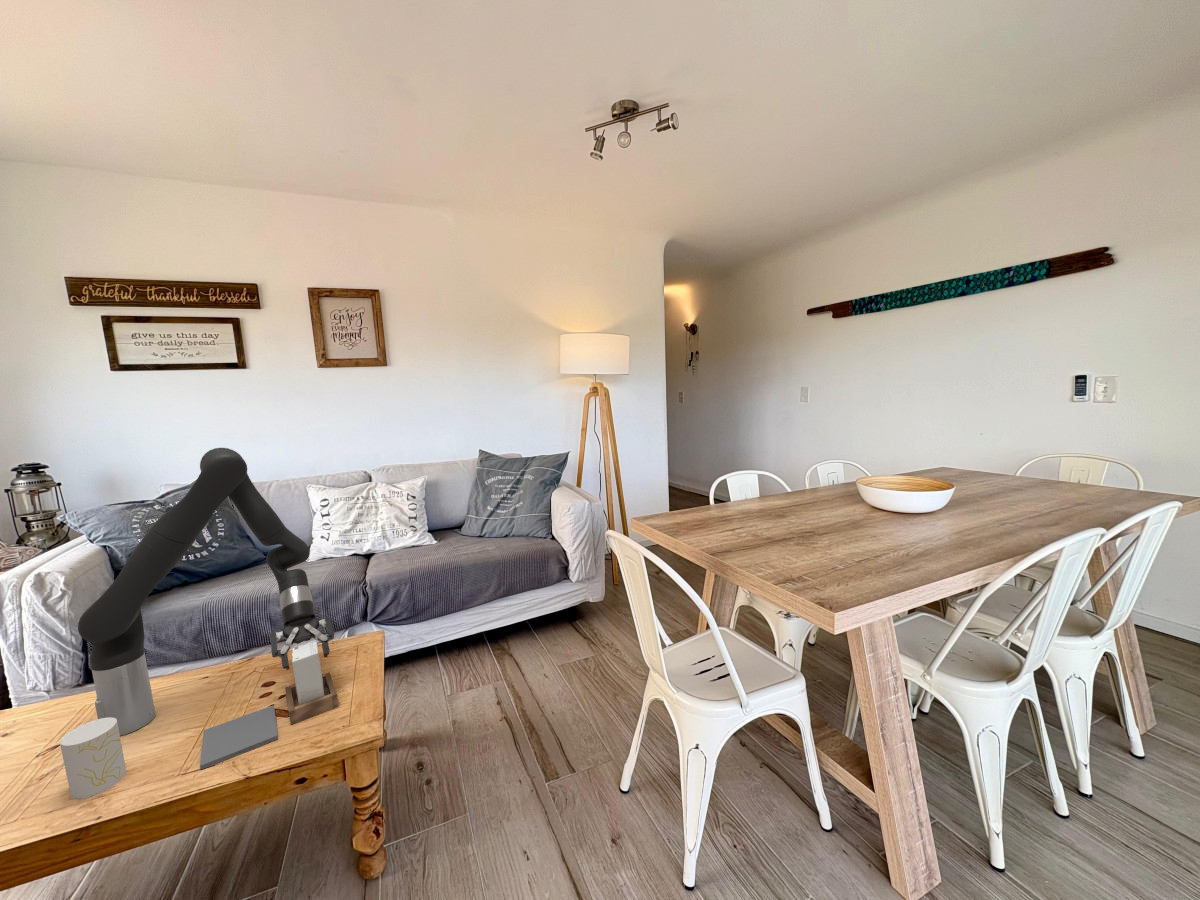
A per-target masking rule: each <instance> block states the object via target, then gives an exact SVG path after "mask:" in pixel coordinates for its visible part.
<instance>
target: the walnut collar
mask: <svg viewBox="0 0 1200 900" xmlns="http://www.w3.org/2000/svg"><path fill="white" fill-rule="evenodd" d="M322 678H323V685H324V689H326V690H327V692H328V694H327V695H324V696H323V697H321V698H318V699H315V700H312V701H310V702H307V703H304V704H302V705H299V704H298V705H296V706H295V703H294V700H296V699H298V697H297V691H296V684H295V683H294V684H291V685H288V686H285V687H284V691H285V698H286V703H287V709H288V715H289V716H288V717H289V722H290V726H292V725H294V724H296V723H299V722H302V721H305V720H307V719H309V718H312V717H315V716H317V715H320V714H323V713H325V712H328V711H330V710H333V709H336V708H338V707H339V700H338V693H337V691H336V686H335V684H334V680H333V677H332V675H331V673H330V672H326V673H323V674H322Z"/></svg>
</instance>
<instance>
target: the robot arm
mask: <svg viewBox="0 0 1200 900" xmlns="http://www.w3.org/2000/svg"><path fill="white" fill-rule="evenodd" d="M199 469H200V474H199V475H198V476H197V478H196V480H195V482H194V483H193V484H192V486H191V487H190V489H189V490H188V491H187V493H186V494H185V495H184V496H183V497H182V498H181V500H179V501H178V502H177V503H176V504H174V505H173V506H172V507H171V508H170V509H168V510H167V511H166V512H164V513H163V514H162V515H161V516H160V517H159V518H158V519H157V520H156V521H155V522H154V523H153V525H152V526H151V527H150V528H149V530H148V531H147V532H146V533H145V534H144V536H143V537H142V539H141V540H140V542H139V543H138V544H137V546H136V547H135V549H134V550H133V552H132V553H131V555H130V556H128V559H127V561H126V562H125V564H124V566H123V567H122V569H121V570H120V572H119V574H118V575H117V577H116V578H115V580H114V581H112V584H111V585H109V587H108V588H107V589H106V590H105V591H104V592H103V593H102V595H101V596H100V597H99V598H98V599H96V600H95V601H94V602H93V603H92V604H91V605H90V606H89V607H88V608H87V609H86V610H84V612H83V613H82V615H81V616H80V618H79V620H78V625H77V631H78V633H79V636H80V637H81V639H83V640H84V641H86V642H88V643H92V646H91V653H90V657H89V664H90V667H91V668H90V669H91V673H92V679H93V684H94V688H95V694H96V699H95V702H94V706H95V711H96V712H95V713H96V717H97V719H101V718H108V717H113V718H116V719H117V724H118V729H119V734H120V737H121V736H125V735H127V734H131V733H133V732H135V731H137V730H139V729H142V728H143V727H144V726H146V725H148V724H149V723H150V722H153V720H154V718H155V717H156V709H155V708H156V707H155V704H154V697H153V693H152V687H151V686H152V685H151V682H150V681H151V680H150V675H149V669H148V663H147V658H146V653H145V628H144V620H143V614H142V608H141V607H142V606H143V604H144V603H145V601H146V599H147V598H148V597H149V595H150V593H151V592H152V591H153V590H154V589H155V588H156V586H157V585H159V584H160V583H161V582H162V580H164V578H165V577H166V576H167V575H168V574H169V573H170V572H171V571H172V570H173V569H174V567H176V566H177V564H178V563H179V562H180V561H181V560H182V558H183V557H184V556H185V555H186V554H187V552H188V550H189V549H190V548H191V547H192V546H193V544H194V543H195V541H196V540H197V539H198V537H199V536H200V534H201V533H202V531H203V530H204V529H205V527H206V526H207V524H208V523H209V522H210V520H211V519H212V517H213V515H214V514H215V512H216V511H217V509H218V508H219V507H220V506H221V504H222V503H224V501H225V500H226V499H228V498H229V499H230V500H231V502H232V503H233V504H234V506H235V507H236V509H237V511H238V512H239V514H240V516H241V518H242V519H243V521H244V522H245V523H246V525H247V526H248V528H249V529H250V531H251V532H252V533H253V535H254V536H255V538H256V539H257V540H258V541H259V543H260V544H261V545H263V546H266V547H270V546H277V545H278V546H277V547H274V548H272V549H270V550H269V551H268V552H267V554H266V559H265V560H266V564H267V565H268V567H269V569H270V571H272V573H273V575H274V578H275V580H276V583H277V586H278V592H279V606H280V612H281V618H282V623H283V630H282V631H278V632H276V631H272V632H271V633H270V634H269V635H270V646H271V647H270V649H271V657H272V658H280V660H281V665H282V669H283V670H284V669H285V671H288V670H289V671H290V664H289V663H290V661H289V657H288V652H289V651H290V650H292V647H293V645H294V644H296V645H298V644H301V643H303V642H308V641H311V639H314V641H318V642H320V643H321V648H322V653H323V657H324V658H328V655H330V646H329V642H330V641H332V640H333V639H335V631H334V627H333V622H332V621H331V620H332V619H331V617H330V616H325V617H324V618H323V619H320V620H318V619H317V616H316V612H315V605H314V601H313V595H312V592H311V590H310V586H309V581H308V576H307V573H306V571H305V570H303V569H300V568H295V569H291V568H292V567H295V566H298V565H300V564H302V563H304V562H306V561H308V560H309V558H310V555H311V553H310V552H311V551H310V550H311V549H310V547H309V546H308V544H307V543H306V542H305V541H304V540H303V539H301V538H300V537H299V536H298V535H296V534H294V533H293V532H292V531H290V529H289V528H288V527H286V526H285V524H284V522H283V521H282V520H281V518H280V517H279V516H278V514H277V513H276V512H275V510H274V509H273V508H272V506H271V505H270V504H269V503H268V502H267V501H266V499H265V498H264V497H263V496H262V494H261V493H260V492H259V491H258V489H257V488H256V486H255V485H254V483H253V482H252V480H251V478H250V476H249V474H248V464H247V462H246V460H245V459H244V458H243V457H242V455H241V454H240V453H239V452H237V451H235V450H234V449H232V448H227V447H216V448H213V449H209V450H208V451H206V452H205V453H204V454H203V456H201V460H200V461H199ZM289 569H290V570H289ZM320 626H322V627H323V628H326V631H327V635H325V634H323V633H322V632H321V631H320V630H318V629H319V627H320ZM281 637H283V638H284V639H286V641H285V643H284V645H283V646H282V648H281V649H278V642H279V641H280V640H281Z"/></svg>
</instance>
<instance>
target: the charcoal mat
mask: <svg viewBox="0 0 1200 900" xmlns="http://www.w3.org/2000/svg"><path fill="white" fill-rule="evenodd" d="M275 710H276V709H275V704H274V705H273V704H272V705H270V706H268V707H265V708H262V709H259V710H255V711H254V712H250V713H247V714H245V715H242V716H239V717H236V718H233V719H231V720H228V721H226V722H223V723H220V724H216V725H215V726H214V725H213V726H212V727H209V728H206V729H203V733H202V742H201V743H202V744H201V749H200V750H201V752H200V761H199V770H200V771H202V770H205V769H206V768H209V767H212V766H214V765H216V764H219V763H222V762H224V761H228V760H229V759H232V758H234V757H236V756H239V755H242V754H244V753H246V752H249V751H250V752H251V751H252V750H254V749H257V748H260V747H262V746H265V745H266V744H267V745H268V744H271V743H272V742H275V741H277V740H279V738H278V735H279V734H278V728H277V720H276V719H277V718H276V711H275ZM201 769H202V770H201Z"/></svg>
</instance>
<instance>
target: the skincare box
mask: <svg viewBox="0 0 1200 900" xmlns="http://www.w3.org/2000/svg"><path fill="white" fill-rule="evenodd" d="M291 651H292V653H291V656H292V660H291V664H292V671H293V676H294V684H296V691H297V697H298V698H297V701H298V706H299V705H302V704H304V703H307V702H310V701H312V700H315V699H318V698H321V697H323V696H325V688H324V685H323V678H322V675H323V674H322V667H321V659H320V654H319V647H318V642H317V640H314V641H313V642H309V643H306V644H303V645H299V646H296V647H293V648H291Z"/></svg>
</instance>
